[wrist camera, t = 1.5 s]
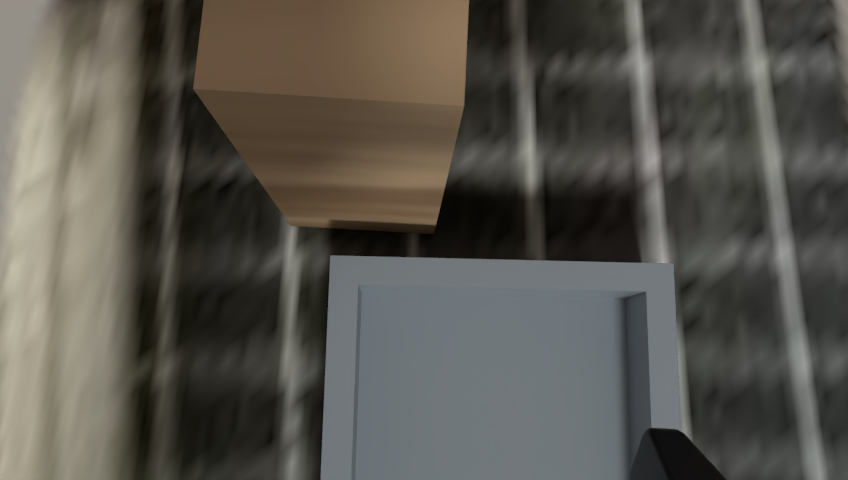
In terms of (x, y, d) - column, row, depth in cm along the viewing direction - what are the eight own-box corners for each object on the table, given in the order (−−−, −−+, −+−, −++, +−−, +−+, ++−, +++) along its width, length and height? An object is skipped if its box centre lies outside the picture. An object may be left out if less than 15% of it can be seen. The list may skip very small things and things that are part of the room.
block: (433, 234, 23) (464, 105, 12) (290, 225, 23) (192, 88, 12) (441, 99, 24) (474, -133, 13) (303, 90, 24) (221, -151, 13)
